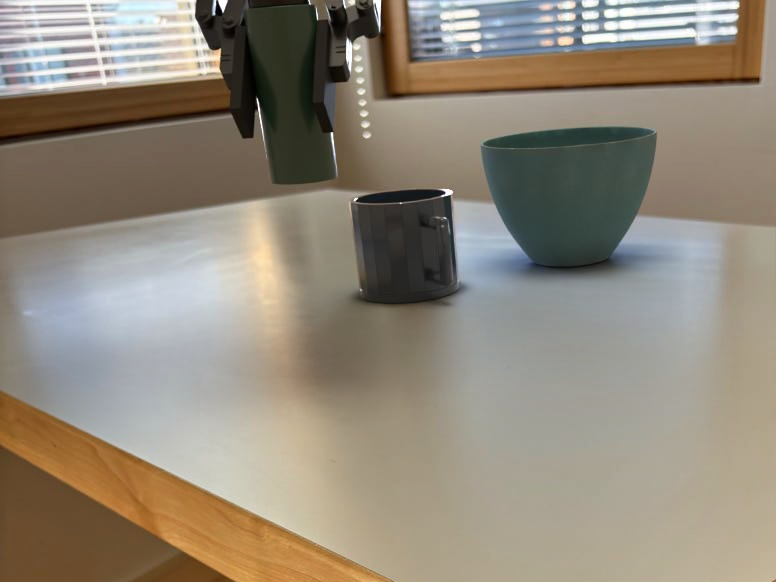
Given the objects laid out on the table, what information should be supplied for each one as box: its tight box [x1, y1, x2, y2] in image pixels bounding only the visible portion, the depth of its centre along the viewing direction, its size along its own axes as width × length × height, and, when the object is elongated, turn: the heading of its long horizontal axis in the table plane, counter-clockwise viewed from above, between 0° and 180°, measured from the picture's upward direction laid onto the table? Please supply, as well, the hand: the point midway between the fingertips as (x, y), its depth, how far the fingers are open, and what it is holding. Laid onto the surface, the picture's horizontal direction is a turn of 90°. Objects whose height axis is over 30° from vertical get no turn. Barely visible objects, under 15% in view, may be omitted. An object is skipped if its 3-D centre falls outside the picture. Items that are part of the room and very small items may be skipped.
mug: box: [348, 187, 460, 304], centre depth 101 cm, size 14×10×9 cm
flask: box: [243, 0, 339, 186], centre depth 70 cm, size 5×5×13 cm
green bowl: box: [479, 125, 658, 268], centre depth 110 cm, size 18×18×12 cm
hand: (282, 120), depth 68 cm, fingers closed on flask, 5 cm apart
